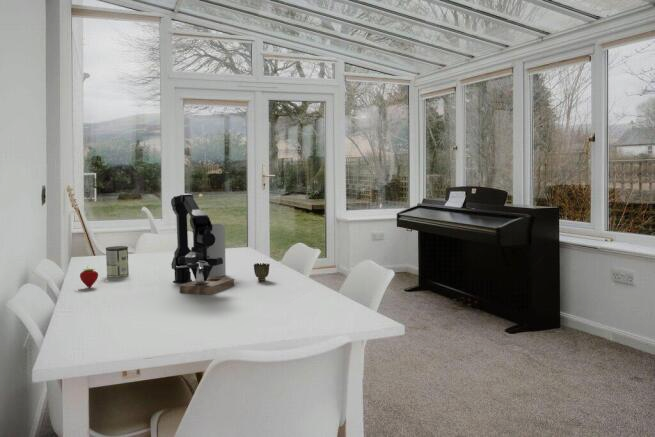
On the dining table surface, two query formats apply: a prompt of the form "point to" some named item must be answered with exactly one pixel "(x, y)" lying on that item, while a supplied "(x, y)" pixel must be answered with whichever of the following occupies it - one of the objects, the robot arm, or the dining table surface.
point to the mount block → (207, 286)
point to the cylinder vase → (217, 250)
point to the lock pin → (200, 276)
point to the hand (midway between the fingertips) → (201, 280)
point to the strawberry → (89, 277)
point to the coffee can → (117, 261)
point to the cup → (261, 271)
